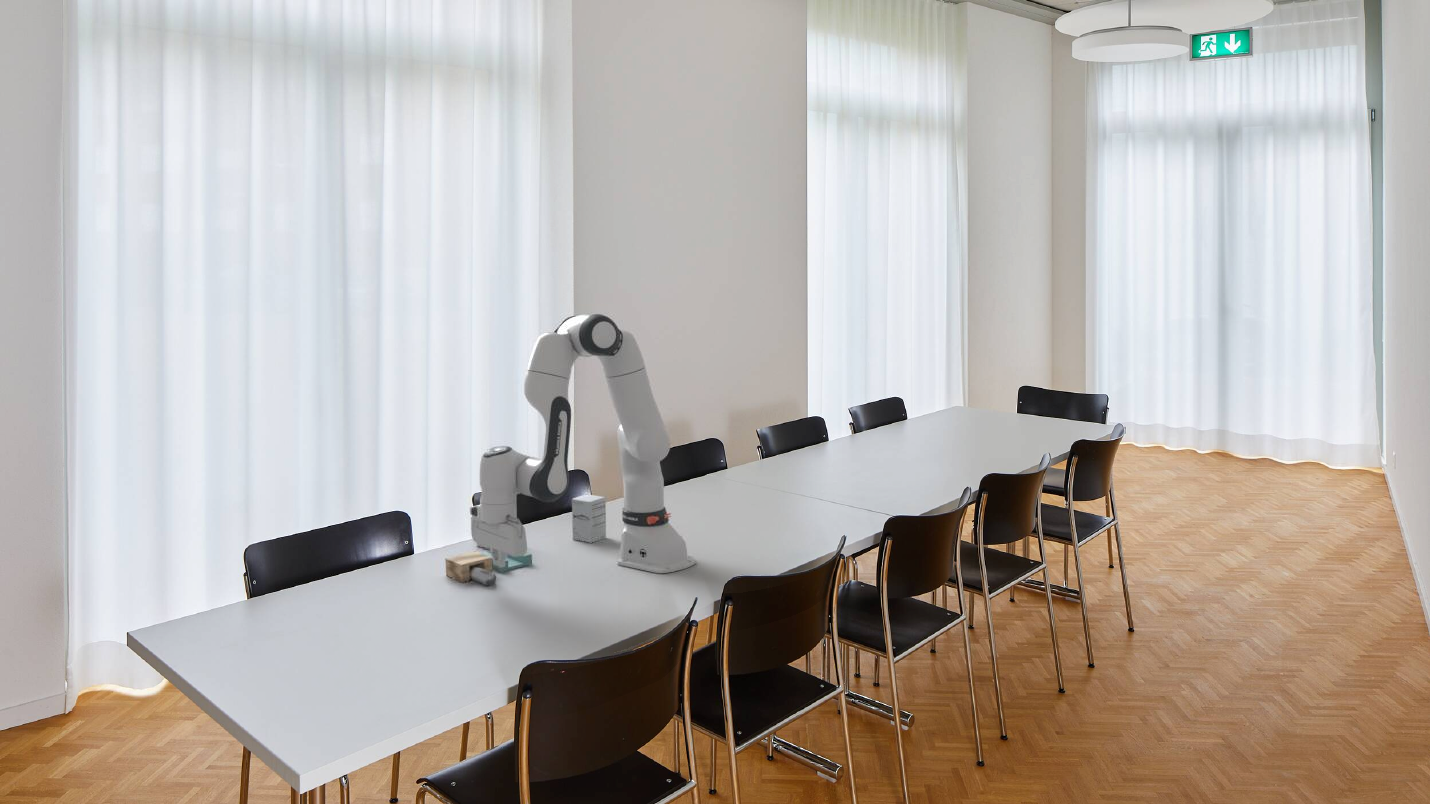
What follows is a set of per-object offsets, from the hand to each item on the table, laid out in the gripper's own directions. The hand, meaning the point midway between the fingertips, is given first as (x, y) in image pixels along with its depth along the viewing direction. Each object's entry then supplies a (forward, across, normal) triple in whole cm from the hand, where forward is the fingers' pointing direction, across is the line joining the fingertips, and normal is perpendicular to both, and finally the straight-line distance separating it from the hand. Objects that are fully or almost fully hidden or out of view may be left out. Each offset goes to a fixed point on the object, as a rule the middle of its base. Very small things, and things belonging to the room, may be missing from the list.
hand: (499, 566), depth 241 cm
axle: (+6, +13, -1) cm, 15 cm away
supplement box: (+6, +20, -44) cm, 48 cm away
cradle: (+6, +18, -12) cm, 22 cm away
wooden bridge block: (+6, +15, 0) cm, 17 cm away
